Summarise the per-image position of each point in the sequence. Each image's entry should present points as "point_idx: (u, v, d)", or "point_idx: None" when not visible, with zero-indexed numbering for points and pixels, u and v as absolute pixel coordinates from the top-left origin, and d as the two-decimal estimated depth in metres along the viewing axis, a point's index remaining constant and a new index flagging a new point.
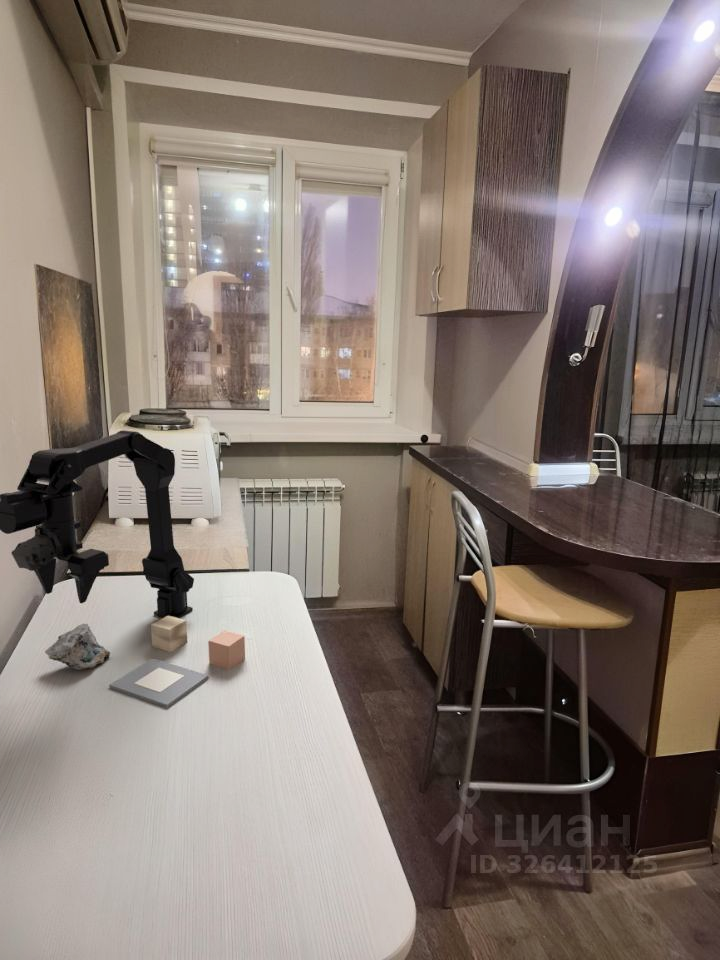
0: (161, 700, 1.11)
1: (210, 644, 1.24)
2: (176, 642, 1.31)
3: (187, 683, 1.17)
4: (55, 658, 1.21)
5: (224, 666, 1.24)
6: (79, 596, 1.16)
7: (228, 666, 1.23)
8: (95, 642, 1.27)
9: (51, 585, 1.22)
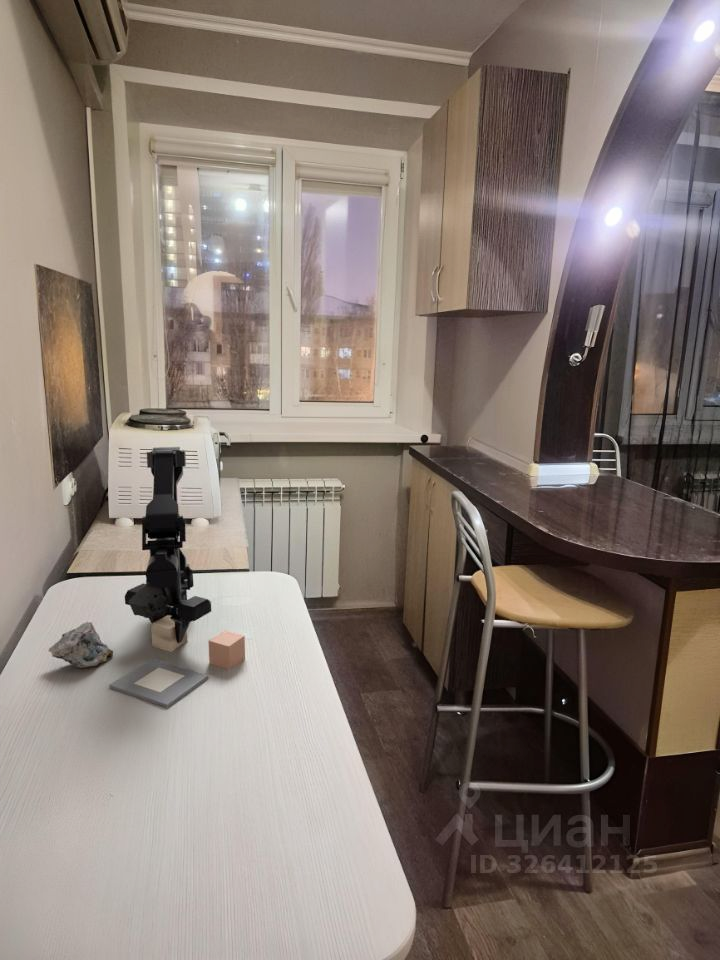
0: (161, 700, 1.11)
1: (210, 644, 1.24)
2: (176, 642, 1.31)
3: (187, 683, 1.17)
4: (58, 656, 1.21)
5: (224, 666, 1.24)
6: (177, 637, 1.30)
7: (228, 666, 1.23)
8: (98, 641, 1.27)
9: None
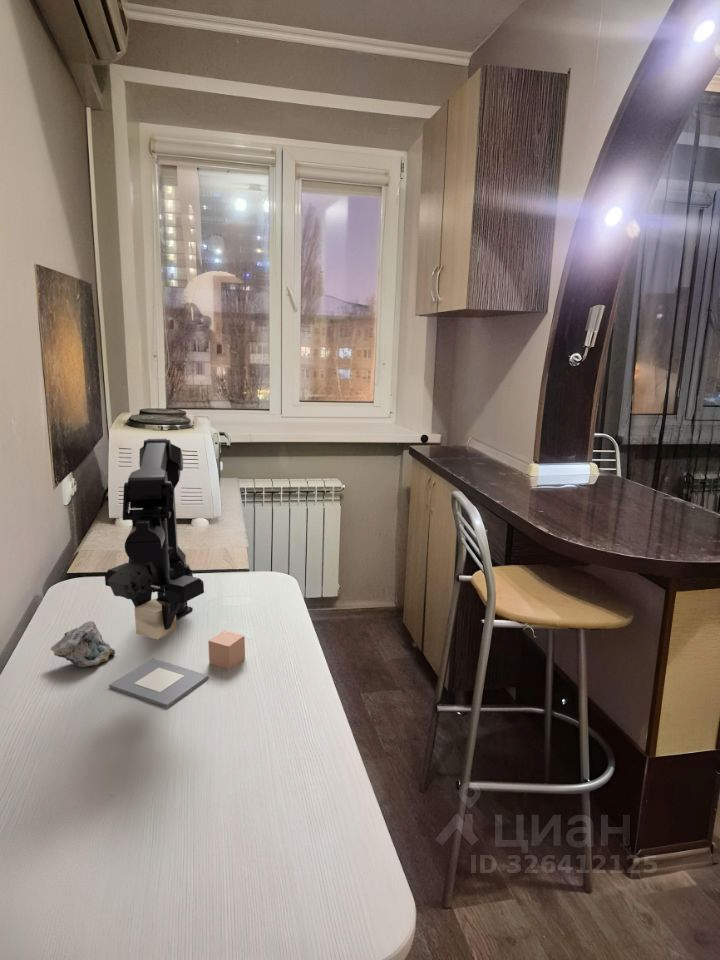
0: (161, 700, 1.11)
1: (210, 644, 1.24)
2: (163, 628, 1.14)
3: (187, 683, 1.17)
4: (60, 655, 1.22)
5: (224, 666, 1.24)
6: (165, 622, 1.13)
7: (228, 666, 1.23)
8: (101, 640, 1.28)
9: None
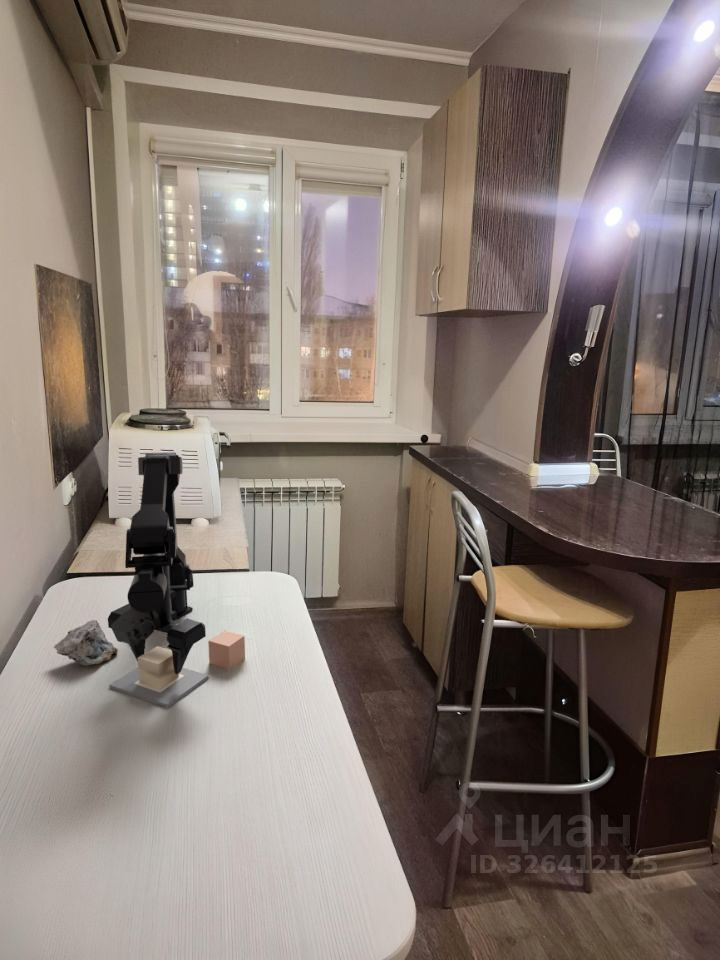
0: (161, 700, 1.11)
1: (210, 644, 1.24)
2: (166, 677, 1.16)
3: (187, 683, 1.17)
4: (63, 653, 1.23)
5: (224, 666, 1.24)
6: (175, 667, 1.14)
7: (228, 666, 1.23)
8: (104, 639, 1.28)
9: (142, 653, 1.19)
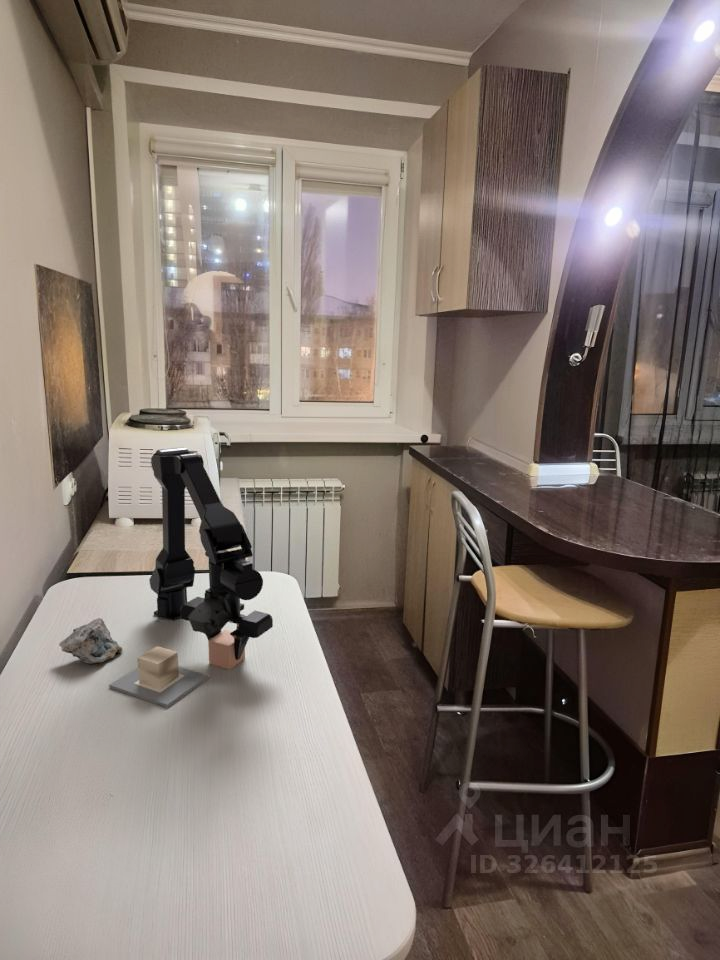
0: (161, 700, 1.11)
1: (210, 644, 1.24)
2: (166, 677, 1.16)
3: (187, 683, 1.17)
4: (67, 651, 1.23)
5: (224, 666, 1.24)
6: (236, 653, 1.24)
7: (227, 666, 1.23)
8: (108, 637, 1.29)
9: None
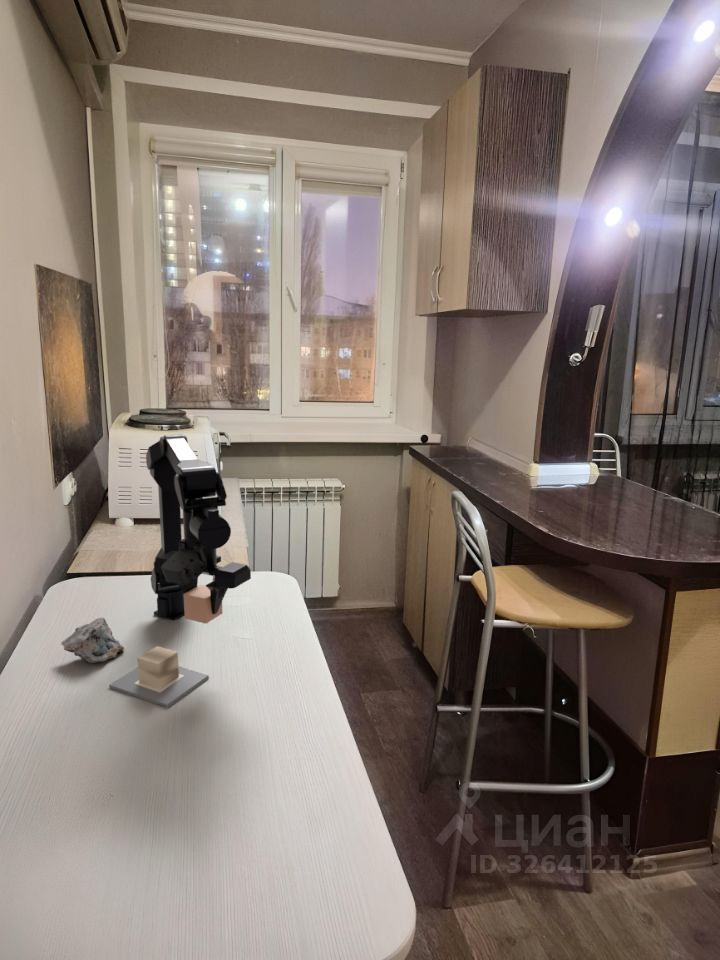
0: (161, 700, 1.11)
1: (185, 597, 1.19)
2: (166, 677, 1.16)
3: (187, 683, 1.17)
4: (69, 650, 1.24)
5: (200, 620, 1.18)
6: (213, 607, 1.18)
7: (204, 620, 1.18)
8: (110, 636, 1.29)
9: None
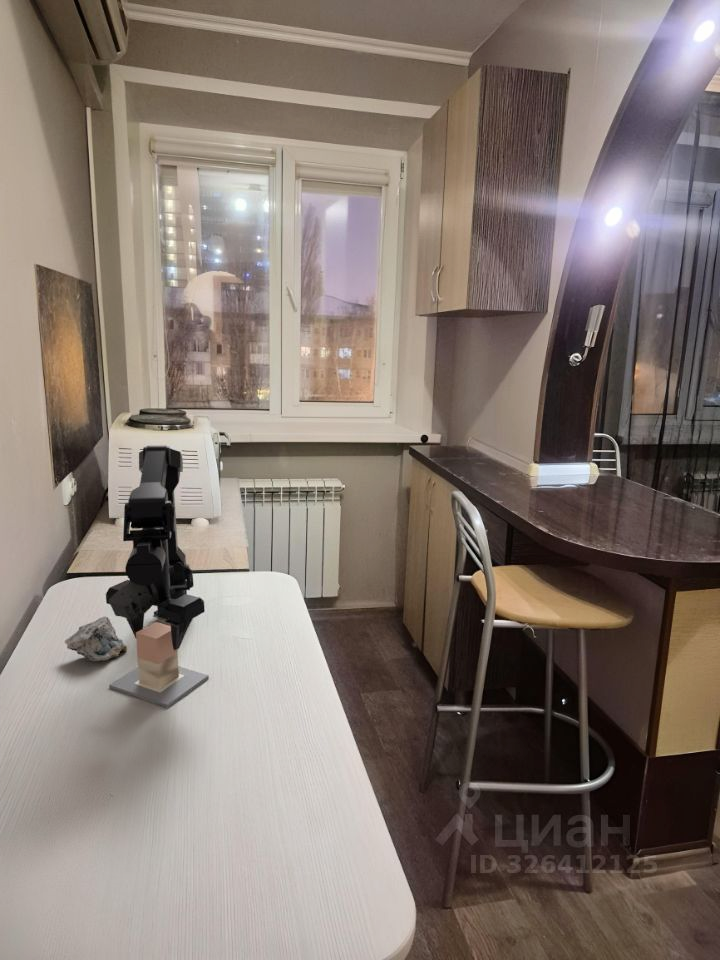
0: (161, 700, 1.11)
1: (138, 636, 1.14)
2: (166, 677, 1.16)
3: (187, 683, 1.17)
4: (72, 648, 1.24)
5: (152, 660, 1.14)
6: (174, 643, 1.13)
7: (156, 661, 1.14)
8: (114, 635, 1.29)
9: None
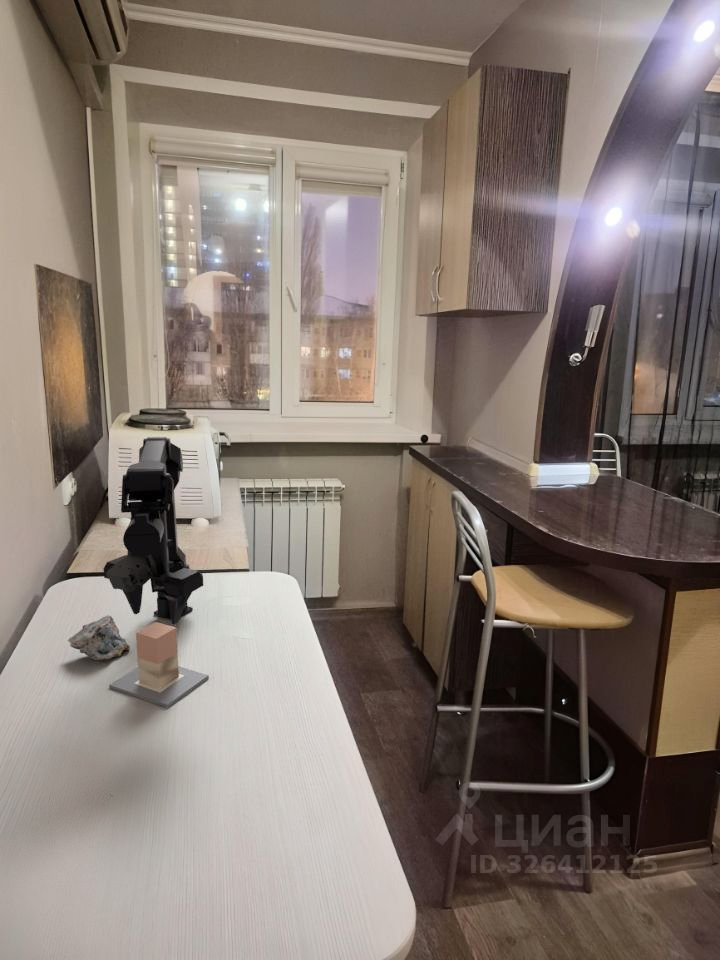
0: (161, 700, 1.11)
1: (138, 636, 1.14)
2: (166, 677, 1.16)
3: (187, 683, 1.17)
4: (75, 647, 1.25)
5: (152, 660, 1.14)
6: (172, 617, 1.12)
7: (156, 661, 1.14)
8: (117, 634, 1.30)
9: (139, 605, 1.17)
